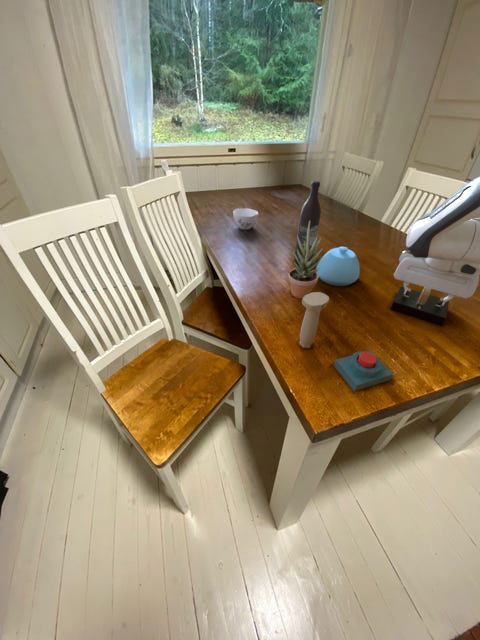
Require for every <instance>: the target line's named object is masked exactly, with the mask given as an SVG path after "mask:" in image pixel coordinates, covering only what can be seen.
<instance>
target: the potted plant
mask: <svg viewBox="0 0 480 640" xmlns="http://www.w3.org/2000/svg"><path fill="white" fill-rule="evenodd" d="M318 238H319V237H318V235H317V236H316V240H315V241H314V244H313V245H312V247H311V249H310V243H311V239H310V221H309V224H308V231H307V244H306V241H305V242H304V248H303V246H302V244H301V242H300V240H299V237H298V236H296V240H297V239H298V243H299V246H300V249H301V252H302V254H303V256H302V255H301V254H300V252H299V250H298V249H297V254H298V257H299V259H300V261H301V262H300V261H299V259H298V258H297V256H296V254H295V250H292V254H293V257H294V256H295V258H296V260H297V261H298V263H299V265H300V266H298V265H297V264H296V263H295V262H294V261H293V264H294V263H295V264H294V265H295V266H296V267H294V268H293V269H291V270H289V271H288V281H289V284H290V288H291V289H290V291H291V295H292V296H293V297H294V298H298V299H303V297H304V296H305V295H307V294H309V293H312V291H313V289H314V287H315V285H316V284H317V283H318V281H319V279H320V278H319V276H318V273H317V272H316V271H318V270H317V269H318V268H317V265H318V263H319V262H320V260H321V258H322V257H323V256H324V255H325V254H324V253H321V252H322V251H323V247H321V249H320V250H319V246H320V243H321V241H322V237H320V238H319V239H318ZM318 250H319V251H318ZM320 254H321V255H320ZM319 255H320V256H319ZM315 267H316V268H317V269H316V268H315ZM314 268H315V269H314Z"/></svg>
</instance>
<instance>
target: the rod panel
mask: <svg viewBox="0 0 480 640" xmlns="http://www.w3.org/2000/svg"><path fill="white" fill-rule="evenodd" d="M404 291H405V288H404V286H400V287H399V289H398V291H397V294H396V295H395V297H394V300H393V302H392V305H391V307H390V311H394V312H397V313H400V314H402V315H405V316H409V317H412V318H414V319H418V320H421V321H424V322H427V323H430V324H433V325H436V326H439V327H442V326H443V324H444V323H445V321H446V319H447V315H448V311H449V310H448V309H449V305H450V304H449V303H450V300H449V301H447V302H445V304H444V305H443V306H441V305H438V301H439V300H440V298H441V297H439V296H436V295H432V294H430V295H429V297H428V299H427V301H426V303H425V305H424V306H420V305H417V303H418V300H419V297H420V295H421V293H422V291H419V290H415V289H411V291H410V293H409V295H404Z"/></svg>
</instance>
